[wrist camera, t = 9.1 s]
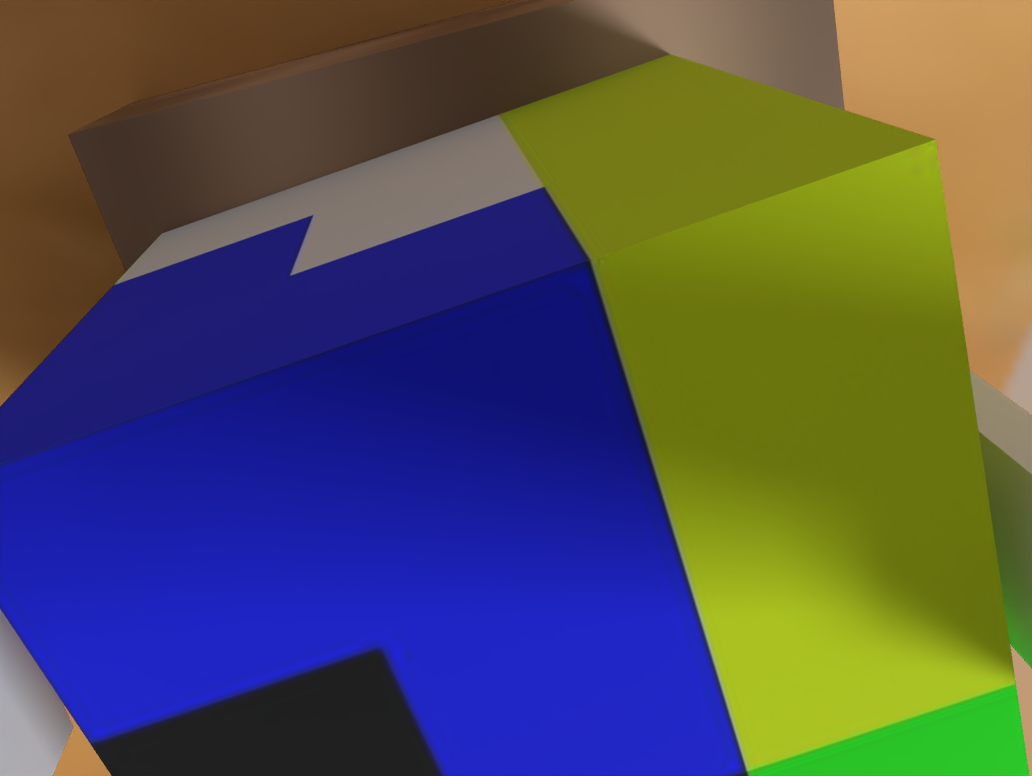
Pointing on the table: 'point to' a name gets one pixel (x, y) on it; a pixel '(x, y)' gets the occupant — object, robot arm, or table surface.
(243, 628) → the puzzle toy
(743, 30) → the taupe block
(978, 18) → the table surface
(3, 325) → the table surface
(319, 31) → the table surface
